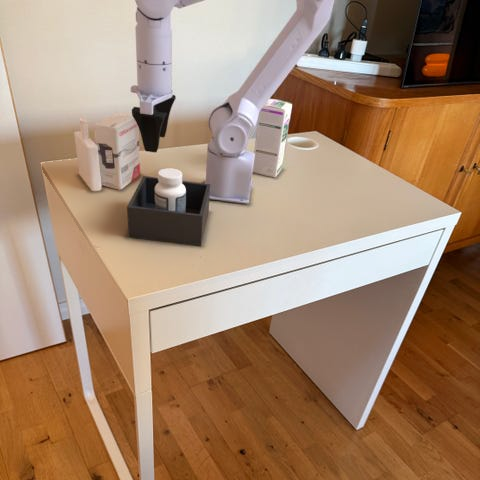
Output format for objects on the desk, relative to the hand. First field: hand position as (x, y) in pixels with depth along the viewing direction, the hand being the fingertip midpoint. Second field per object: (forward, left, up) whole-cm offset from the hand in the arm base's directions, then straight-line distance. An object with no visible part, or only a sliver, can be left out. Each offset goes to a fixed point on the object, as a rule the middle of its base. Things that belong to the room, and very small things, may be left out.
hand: (155, 143), depth 84 cm
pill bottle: (-5, +12, -9) cm, 16 cm away
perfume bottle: (+13, 0, -10) cm, 16 cm away
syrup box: (-22, -17, -10) cm, 29 cm away
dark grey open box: (-5, +12, -9) cm, 16 cm away
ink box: (+8, -3, -10) cm, 13 cm away
